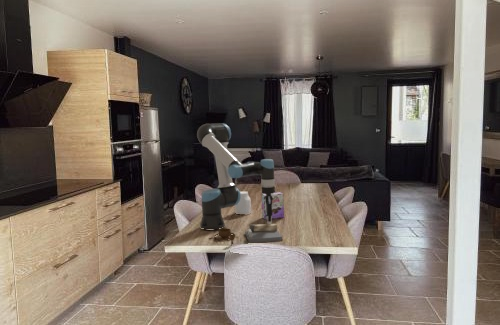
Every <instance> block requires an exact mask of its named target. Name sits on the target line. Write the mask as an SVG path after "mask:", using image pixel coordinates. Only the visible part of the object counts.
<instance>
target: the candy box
mask: <svg viewBox="0 0 500 325" xmlns="http://www.w3.org/2000/svg"><path fill="white" fill-rule="evenodd" d="M265 196H266V194H263V193H261V218H262V219H264V220H267V216H266V215H267V213H266V212H267V210H266V200H265ZM271 196H272V214H273V215H272V220H273V219H282V218H285V210H284V209H285V208H284V204H285V203H284V193H282V192H275V193H273V194H271Z"/></svg>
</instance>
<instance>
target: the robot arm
mask: <svg viewBox="0 0 500 325" xmlns="http://www.w3.org/2000/svg"><path fill="white" fill-rule="evenodd" d="M231 131H232V130H231V128H230V126H228V125H227V123H224V122H223V123H221V122H217V123H215V122H214V123H205V124H202V125H201V126H200V127H198V129H197V131H196V132H197V133H196V137H197V139H198V141H199V143H200V144H201V145H202V147H205V148H207V149H208V150H209V151H210V152H211V153H212V154H213V156H214V159H215V165H216V172H217V177H218V186H217V187H216V188H209V189H206V190H204V191H202V193H201V212H202V217H201V220H200V224H199V225H200V226H199V228H200V227H201V228H204V229H219V228H222V227H224V226H225V227H226V225H225V220H224V218H223V215H222V210H223V209H226V208H231V207H235V205H237V204H238V203H239V201H240V198H241V194H240V192H241V191H240V190H239V188H238V187H236V184H235V183H234V182H233V179H241V178H245V177H251V176H260V180H261V184H260V185H261V194H266V196H265V200H266V210H267V212H266V213H267V215H266V216H267V219H266V224H273V219H272V215H273V214H272V196H271V194H273V193H276V187H275V183H276V179H275V163H274V159H271V158H268V159H267V158H264V159H261V160H260V162H259V161H247V162H245V163H241V161H240V160H238V159H237V158H236V157H235V156H234V155H233V154H232V153H231V152H230V151H229V150H228V144H230V142H229V141H230V140H231V137H232V132H231ZM225 227H224V228H225ZM222 229H223V228H222ZM219 230H220V229H219Z"/></svg>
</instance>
